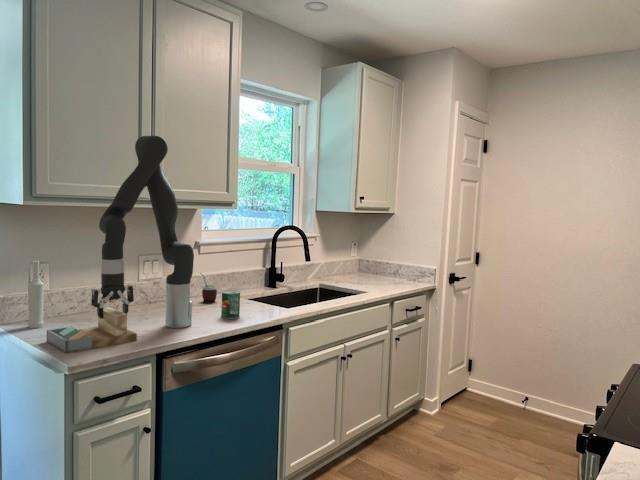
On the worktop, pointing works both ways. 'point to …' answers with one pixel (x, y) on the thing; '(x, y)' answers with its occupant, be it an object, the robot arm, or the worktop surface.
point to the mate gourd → (209, 292)
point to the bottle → (35, 299)
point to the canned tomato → (230, 304)
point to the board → (107, 337)
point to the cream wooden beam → (113, 322)
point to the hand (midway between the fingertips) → (113, 316)
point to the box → (68, 341)
